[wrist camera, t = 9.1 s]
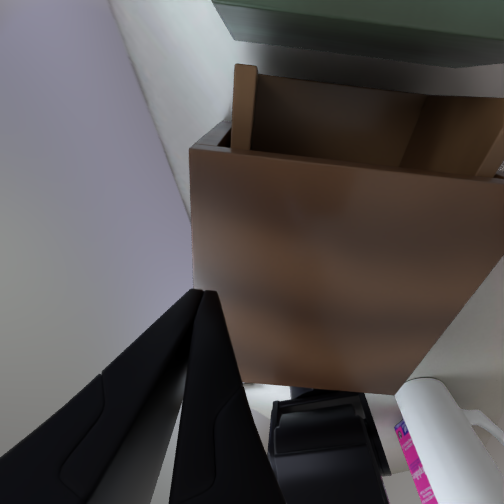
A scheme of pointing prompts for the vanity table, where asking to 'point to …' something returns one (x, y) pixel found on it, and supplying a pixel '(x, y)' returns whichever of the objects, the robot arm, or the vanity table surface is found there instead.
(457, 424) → the mug
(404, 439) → the supplement box
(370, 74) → the vanity table surface
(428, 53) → the drawer
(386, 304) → the cabinet
